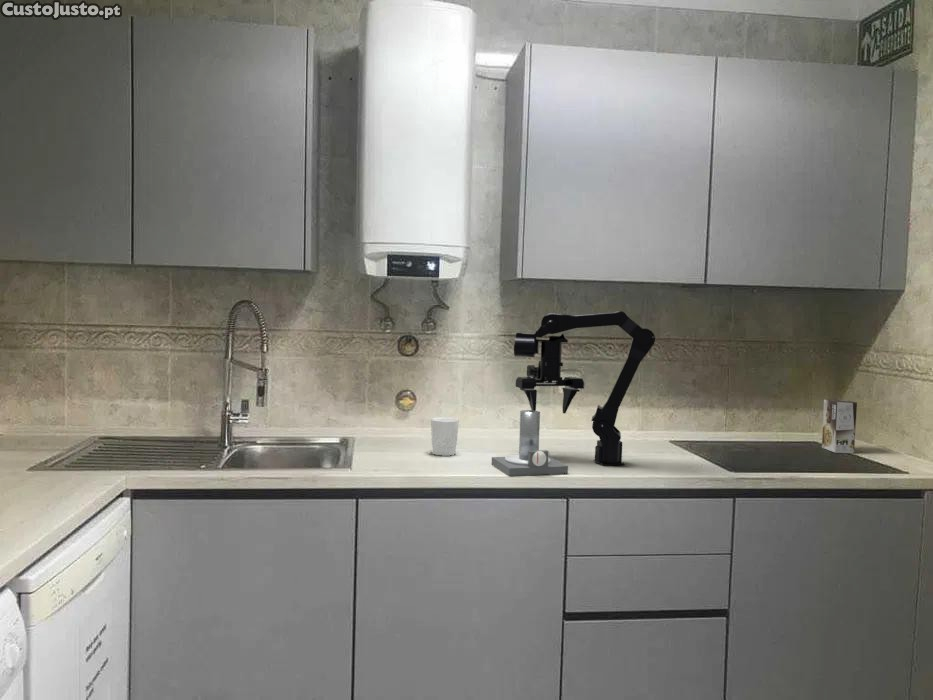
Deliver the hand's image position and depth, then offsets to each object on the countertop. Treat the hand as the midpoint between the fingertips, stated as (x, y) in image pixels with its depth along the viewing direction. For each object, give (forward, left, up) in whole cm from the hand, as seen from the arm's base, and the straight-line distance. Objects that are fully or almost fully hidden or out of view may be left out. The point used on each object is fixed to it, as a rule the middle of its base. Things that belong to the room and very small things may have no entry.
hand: (549, 413), depth 205 cm
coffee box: (-99, +2, -13) cm, 100 cm away
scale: (+10, +11, -13) cm, 20 cm away
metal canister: (+10, +10, -10) cm, 17 cm away
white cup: (+27, -12, -13) cm, 32 cm away
